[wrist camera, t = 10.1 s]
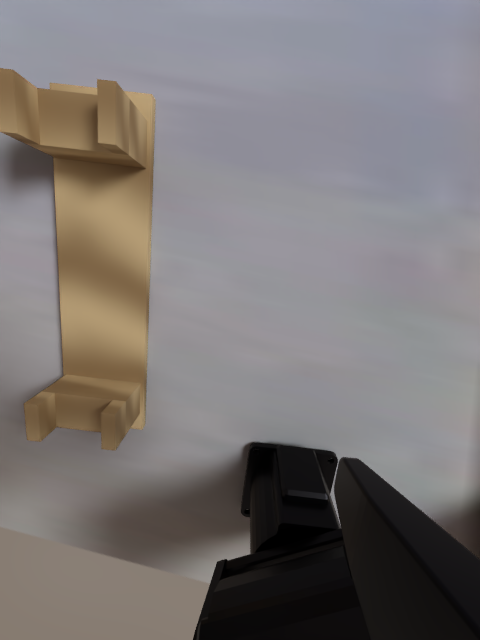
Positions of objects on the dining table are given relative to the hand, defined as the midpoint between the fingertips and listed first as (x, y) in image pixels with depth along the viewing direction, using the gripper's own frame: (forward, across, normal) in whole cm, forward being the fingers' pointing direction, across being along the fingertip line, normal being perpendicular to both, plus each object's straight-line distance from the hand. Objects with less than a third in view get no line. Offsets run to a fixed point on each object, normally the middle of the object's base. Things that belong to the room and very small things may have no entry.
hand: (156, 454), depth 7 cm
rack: (+12, +7, -2) cm, 15 cm away
